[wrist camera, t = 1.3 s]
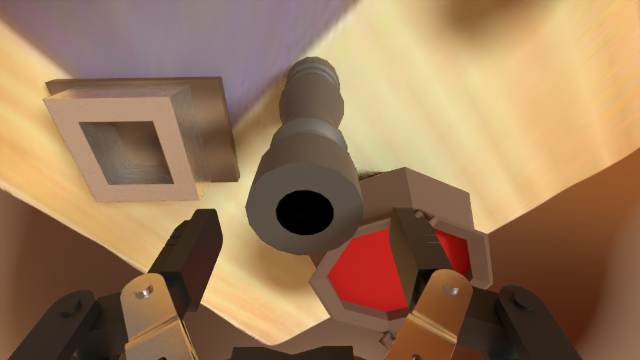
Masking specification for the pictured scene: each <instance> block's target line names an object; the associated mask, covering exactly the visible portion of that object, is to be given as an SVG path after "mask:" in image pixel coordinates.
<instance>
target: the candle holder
mask: <svg viewBox="0 0 640 360" xmlns="http://www.w3.org/2000/svg"><path fill="white" fill-rule="evenodd" d="M279 112H280V118H281V121H282V124H283V125H282V126H281V127H280V128H279V129H278V130H277V132H276V133H275V134H274V135H273V138H272V142H271V145H270V148H269V149H268V150H267V152H266V153H265V154H264V155H263V156H262V158H261V161H260V163H259V166H258V169H257V172H256V175H255V177H254V180H253V183H252V186H251V189H250V192H249V196H248V199H247V203H246V206H245V208H246V212H247V217H248V221H249V225H250V226H251V227H252V229H253V230H254V231H255V233H256V234H257V235H258V236H259V238H260V239H261V240H262V241H264V242H266V243H267V244H269V245H271V246H272V247H274V248H276V249H277V250H280V251H284V252H288V253H292V254H296V255H318V254H322V253H325V252H328V251H331V250H334V249H337V248H339V247H340V246H342V245H343V244H344V243H346V242H347V241H348V240H350V239H351V238H352V237H353V236H354V235H355V233H356V231H357V230H358V228H359V226H360V224H361V223H362V221H363V198H362V194H361V189H360V185H359V180H358V176H357V171H356V168H355V166H354V163H353V161H352V159H351V157H350V155H349V153H348V152H347V144H346V142H345V139H344V137H343V135H342V133H341V131H340V130H339V129H338V127H339V125H340V122H341V120H342V118H343V115H344V101H343V98H342V96H341V93H340V83H339V79H338V76H337V74H336V71H335V69H334V67H333V66H332V65H331V64H330V63H329V62H328V61H327V60H324V59H322V58H319V57H306V58H304V59H302V60H300V61H298V62H297V63H296V64H295V65H294V66H293V68H292V69H291V70H290V73H289V75H288V79H287V82H286V85H285V89H284V90H283V92H282V95H281V98H280V102H279Z"/></svg>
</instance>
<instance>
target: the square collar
mask: <svg viewBox="0 0 640 360" xmlns="http://www.w3.org/2000/svg"><path fill="white" fill-rule="evenodd" d="M42 100H43V101H44V103H45V105H46V107H47V109H48V111H49V113H50V115H51V117H52V118H53V120H54V122H55V124H56V126H57V128H58V130H59V132H60V133H61V135H62V137H63V139H64V141H65V143H66V145H67V147H68V148H69V150H70V152H71V154H72V156H73V158H74V160H75V162H76V164H77V165H78V167H79V169H80V171H81V173H82V175H83V177H84V179H85V180H86V182H87V184H88V186H89V188H90V190H91V192H92V194H93V195H94V197H95V199H96V201H97V202H120V201H188V200H200V199H201V198H202V196H203V194H204V192H205V191H206V189H207V187H208V186H209V184H210V182H211V181H212V176H211V172H210V168H209V164H208V160H207V156H206V153H205V149H204V145H203V141H202V137H201V133H200V129H199V125H198V121H197V117H196V113H195V109H194V105H193V101H192V97H191V93H190V89H189V85H134V86H77V87H74V88H71V89H69V90H66V91H63V92H60V93H58V94H55V95H52V96H49V97H47V98H44V99H42ZM117 121H153V123H154V125H155V128H156V131H157V134H158V137H159V140H160V143H161V146H162V149H163V152H164V155H165V158H166V161H167V164H151V165H131V163H130V161H129V158H128V156H127V153H126V151H125V149H124V146H123V144H122V141H121V139H120V137H119V134H118V132H117V129H116V127H115V125H114V122H117Z"/></svg>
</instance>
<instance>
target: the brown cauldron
mask: <svg viewBox="0 0 640 360" xmlns="http://www.w3.org/2000/svg"><path fill="white" fill-rule="evenodd" d="M359 185H360V189H361V194H362V198H363V221H362V223H361V224H360V226H359V228H358V230H357V231H356V233H355V235H354V236H353V237H352V238H351V239H350V240H348V241H347V242H346V243H344V244H343V245H342V246H340V247H339V248H337V249H334V250H331V251H328V252H325V253H322V254H318V255H309V256H310V257H311V259H312V261H313V263H314V265H315V267H316V268H317V269H316V270H315V272H314V274H313V275H312V277H311V278H310V280H309V284H310V285H311V287H312V288H313V290H314V292H315V293H316V295H317V296H318V298H319V299H320V301H321V303H322V304H323V306H324V307H325V309H326V311H327V312H328V314H329V315H330V317H331V318H332V320H333V321H337V322H341V323H345V324H349V325H352V326H357V327H361V328H364V329H368V330H372V331H376V332H380V333H384V335H383V337H382V338H381V339H380V340H379V342H380V343H381V344H383V345H384V346H385V347H386V348H387V349H388V350H390V348H391V346H392V345H390V344H388V343H387V342H386V340H387V339H388V338H389V337H390V338H391V339H393V340H395V338H396V336H395V335H393V334H392V333H397V332H399V331H400V329H401V327H402V325H403V323H404V321H405V319H406V318H407V316H408V314H409V313H410V312H411V313H412V312H413V310H408V306H407V303H406V299H405V296H404V293H403V289H402V286H401V282H400V279H399V275H398V272H397V268H396V265H395V262H394V258H393V255H392V251H391V248H390V244H389V229H390V222H391V216H392V210H393V207H406V206H410V207H411V208H412V209H413V212H414V214H415V216H416V218H424V219H425V220H426V221H428V222H429V223H430V224H431V225H432V227H433V229H434V231H435V233H436V236H437V237H438V239H439V241H440V243H441V245H442V247H443V249H444V251H445V253H446V255H447V257H448V259H449V260H450V262H451V264H452V266H453V268H454V270H455V271H456V272H458V273H460V274H461V275H463V276H464V277H465V278H466V279H467V280H468V281H469V282H470V284H471V285H472V286H474V287H477V288H480V289H484V290H486V289H487V288H488V287H489V286H491V285H492V284H493V277H492V268H491V259H490V250H489V241H488V234H485V233H483V232H480V231H477V230H475V229H474V224H473V217H472V210H471V202H470V195H469V193H468V192H466V191H463V190H461V189H458V188H456V187H453V186H451V185H448V184H446V183H443V182H441V181H438V180H436V179H434V178H431V177H429V176H426V175H424V174H421V173H419V172H416V171H414V170H411V169H409V168H406V167H403V168H399V169H395V170H391V171H388V172H384V173H381V174H378V175H375V176H372V177H369V178H366V179H363V180H360V181H359Z"/></svg>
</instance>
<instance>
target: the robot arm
mask: <svg viewBox="0 0 640 360" xmlns="http://www.w3.org/2000/svg"><path fill="white" fill-rule="evenodd" d="M222 244H223V235H222V230H221V227H220V223H219V219H218V215H217V212H216V210H215V209H197V210H196V211H195V213H194V214H193V216H192V218H191V219H190V220H185V221H184V222H182V223H181V224H180V225H179V226H178V227H176V228H175V230H174V231H173V233H172V235H171V236H170V239H168V241H167V242H166V244H165V247H163V249H162V250H161V252H160V254H159V255H158V257H157V258H156V260H155V262H154V263H153V265H152V266H151V268H150V270H149V271H148V273H147V274H144V275H142V276H139V277H137V278H135V279H134V280H132V281H131V282H129V283H128V284H127V286H125V288H124V289H123V291H122V292H118V293H115V294H111V295H107V296H104V297H100V298H96V296H95V295H94V294H93V292H91V291H89V290H80V291H76V292H73V293H70V294H68V295H66V296H64V297H62V298H61V299H59V300H58V301H57V302H55V303H54V304H53V305H52V306H51V307H50V308H49V309H48V310H47V312H46V313H45V314H44V315H43V317H42V318H41V319H40V320H39V322H38V323H37V324H36V325H35V327H34V328H33V329H32V330H31V331H30V333H29V334H28V335H27V336H26V338H25V339H24V340H23V341H22V343H21V344H20V345H19V346H18V348H17V349H16V350H15V351H14V352H13V354H12V355H11V356H10V357H9V359H8V360H70V359H71V360H118V359H119V357H120V355H121V353H124V352H126V357H127V360H198V358H197V356H196V353H195V351H194V348H193V345H192V343H191V340H190V338H189V335H188V332H187V330H186V327H185V325H184V322H183V318H184V315H185V313H186V312H196V311H197V309H198V307H199V304H200V302H201V299H202V297H203V294H204V291H205V289H206V286H207V284H208V281H209V279H210V276H211V274H212V271H213V268H214V266H215V263H216V261H217V258H218V256H219V253H220V251H221V248H222ZM389 244H390V248H391V251H392V255H393V258H394V262H395V265H396V268H397V272H398V275H399V279H400V282H401V286H402V289H403V293H404V296H405V299H406V303H407V306H408V310H413V312H412V313H411V312H410V313H409V314H408V316H407V318H406V319H405V321H404V323H403V325H402V327H401V329H400V331H399V333H398V334H397V336H396V338H395V340H394V342H393V344H392V346H391V348H390V350H389V352H388V353H387V355H386V357H385V359H384V360H450V359H451V356H452V354H453V351H454V348H455V345H456V343H457V344H461V345H464V346H467V347H470V348H474V349H477V350H479V351H480V353H481V356H482V358H483V360H582V358H581V357H580V355H579V354H578V353H577V351H576V349H575V348H574V347H573V345H572V344H571V342H570V341H569V339H568V338H567V336H566V335H565V333H564V332H563V330H562V329H561V327H560V326H559V324H558V323H557V322H556V320H555V318H554V317H553V315H552V314H551V313H550V311H549V310H548V308H547V307H546V305H545V304H544V303H543V301H542V300H541V299H540V298H539V297H538V296H537V295H536V294H534V293H533V292H531V291H529V290H527V289H525V288H523V287H520V286H514V285H508V286H505V287H503V288H502V289H501V290H500V291H499V293H496V292H492V291H488V290H484V289H480V288H477V287H474V286H472V285H471V284H470V282H469V281H468V280H467V279H466V278H465V277H464V276H463V275H461V274H460V273H458V272H456V271H455V270H454V268H453V266H452V264H451V262H450V260H449V259H448V257H447V255H446V253H445V251H444V249H443V247H442V245H441V243H440V241H439V239H438V237H437V236H436V233H435V231H434V229H433V227H432V225H431V224H430V223H429V222H428V221H426V220H425V219H424V218H416V216H415V214H414V212H413V209H412V208H411V207H410V206H406V207H393V210H392V216H391V222H390V229H389ZM72 356H73V357H72ZM71 357H72V358H71ZM225 360H365V359H363V358H361V357H358V356H354V355H353V347H352V346H322V347H319V348H316V349H312V350H308V351H305V352H301V353H298V354H294V355H291V354H287V353H283V352H279V351H276V350H272V349H268V348H265V347H234V348H233V352H232V356H231V358H228V359H225Z"/></svg>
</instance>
